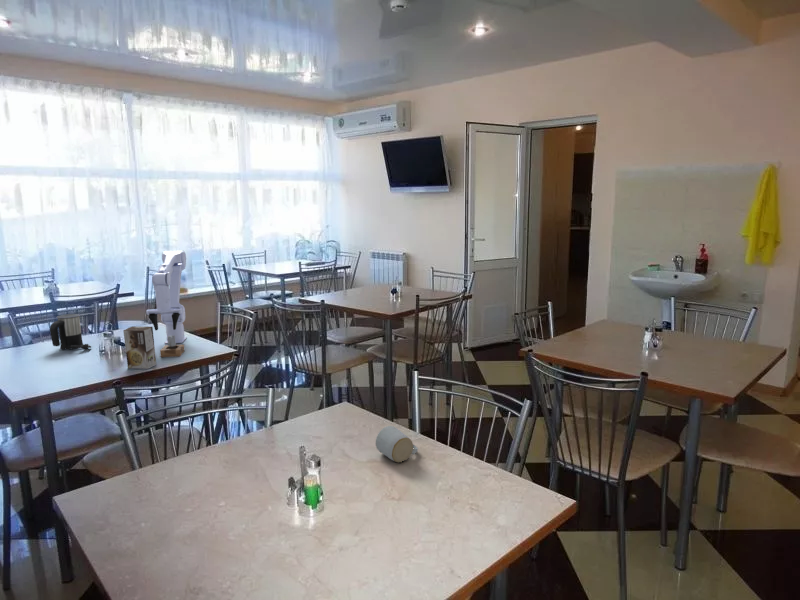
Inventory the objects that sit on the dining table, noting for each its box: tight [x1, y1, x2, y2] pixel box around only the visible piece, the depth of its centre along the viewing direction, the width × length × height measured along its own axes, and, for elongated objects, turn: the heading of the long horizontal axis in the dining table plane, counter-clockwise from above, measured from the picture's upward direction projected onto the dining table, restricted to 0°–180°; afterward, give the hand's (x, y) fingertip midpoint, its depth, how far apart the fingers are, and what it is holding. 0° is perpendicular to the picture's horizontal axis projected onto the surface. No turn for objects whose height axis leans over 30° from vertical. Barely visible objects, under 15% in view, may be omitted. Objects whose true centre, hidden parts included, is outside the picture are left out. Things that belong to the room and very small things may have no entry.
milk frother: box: [49, 313, 92, 351], centre depth 240 cm, size 14×16×15 cm
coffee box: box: [122, 325, 157, 370], centre depth 215 cm, size 9×6×16 cm
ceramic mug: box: [375, 425, 419, 463], centre depth 142 cm, size 11×8×8 cm
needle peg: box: [167, 335, 177, 349], centre depth 233 cm, size 3×3×8 cm
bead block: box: [159, 344, 186, 358], centre depth 233 cm, size 8×8×3 cm
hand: (165, 329), depth 238 cm, fingers open, 7 cm apart
